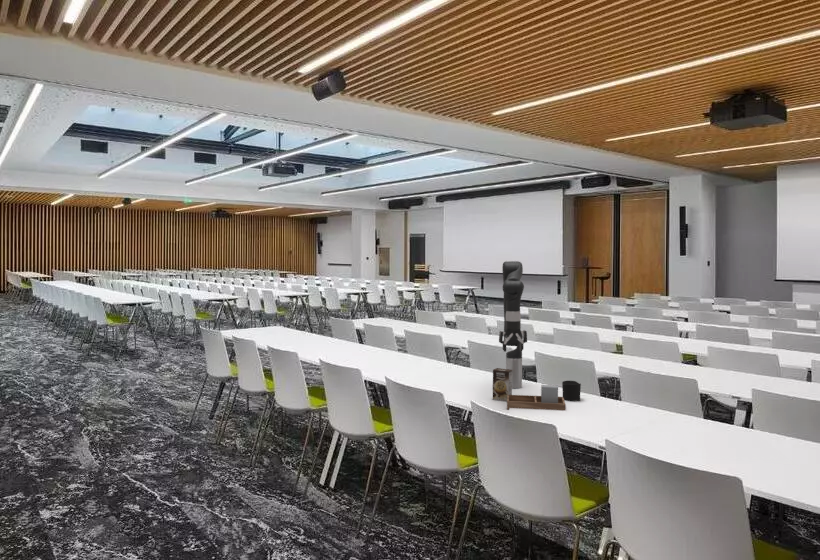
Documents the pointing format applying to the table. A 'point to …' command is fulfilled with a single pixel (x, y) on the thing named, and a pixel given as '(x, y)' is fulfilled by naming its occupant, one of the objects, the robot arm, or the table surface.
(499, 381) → the coffee box
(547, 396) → the tea box
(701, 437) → the table surface
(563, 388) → the pen holder
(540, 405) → the caddy
